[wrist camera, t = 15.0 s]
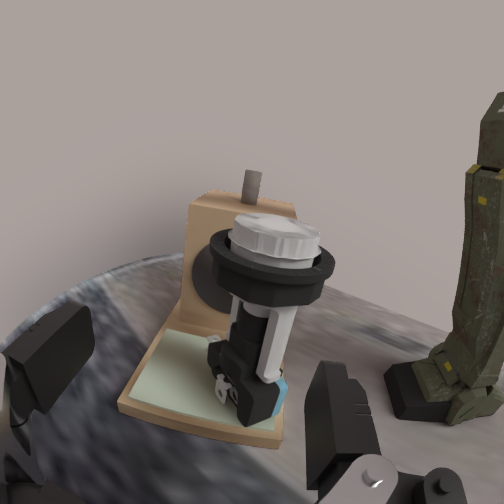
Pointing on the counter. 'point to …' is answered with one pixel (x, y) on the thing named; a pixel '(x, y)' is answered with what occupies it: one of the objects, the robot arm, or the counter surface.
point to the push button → (262, 306)
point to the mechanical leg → (467, 305)
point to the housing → (200, 334)
